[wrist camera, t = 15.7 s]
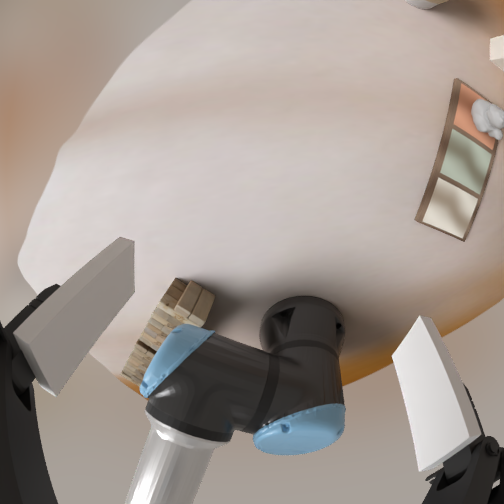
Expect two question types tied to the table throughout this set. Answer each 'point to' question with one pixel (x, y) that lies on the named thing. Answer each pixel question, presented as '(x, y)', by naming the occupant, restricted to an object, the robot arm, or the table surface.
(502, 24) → the table surface
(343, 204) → the table surface
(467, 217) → the game board
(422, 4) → the coffee cup
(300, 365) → the robot arm
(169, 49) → the table surface
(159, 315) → the block tower
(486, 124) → the white lumpy piece
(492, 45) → the die
